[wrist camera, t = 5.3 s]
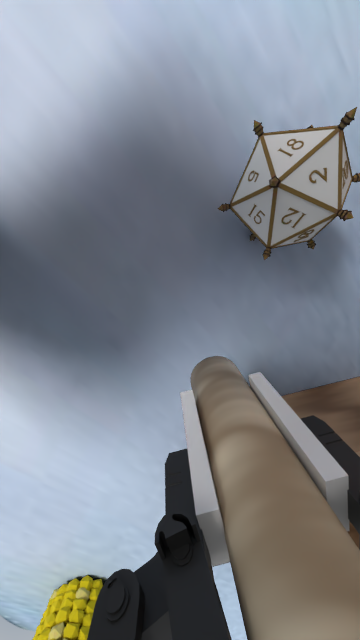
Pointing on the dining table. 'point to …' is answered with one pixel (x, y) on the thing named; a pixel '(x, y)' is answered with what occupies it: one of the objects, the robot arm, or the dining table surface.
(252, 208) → the game die
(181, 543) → the robot arm
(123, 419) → the dining table surface
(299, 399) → the box
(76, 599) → the food
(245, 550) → the peg
